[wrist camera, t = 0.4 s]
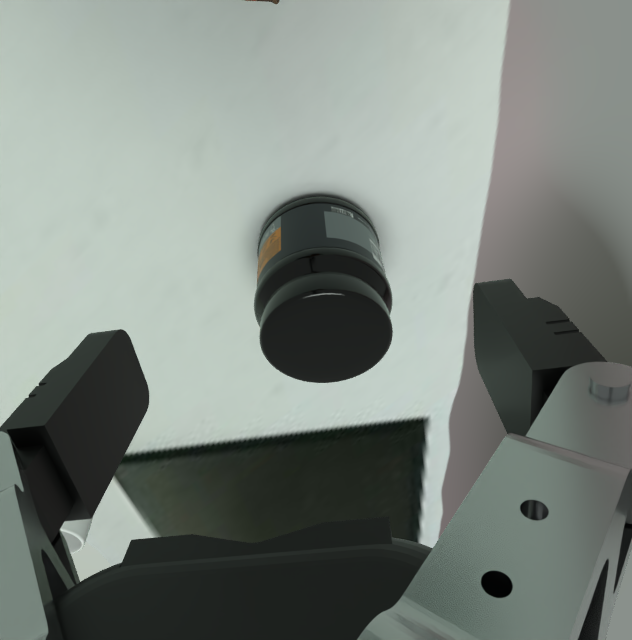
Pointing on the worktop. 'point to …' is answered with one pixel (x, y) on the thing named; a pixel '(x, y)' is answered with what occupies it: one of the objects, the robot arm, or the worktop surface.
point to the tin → (274, 0)
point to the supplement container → (322, 291)
